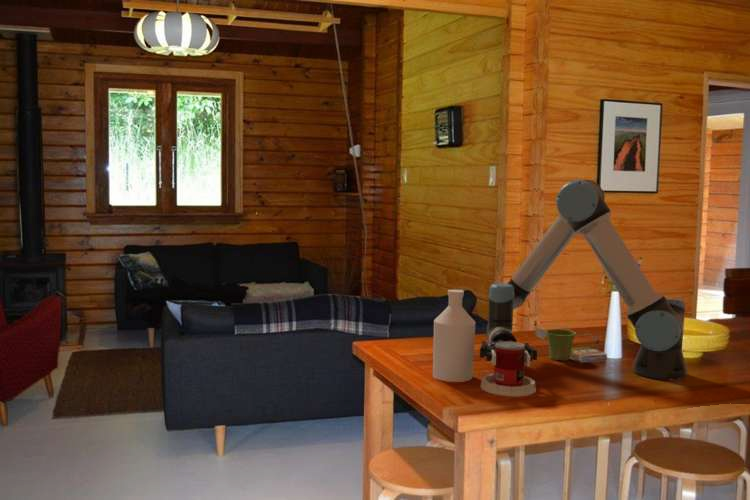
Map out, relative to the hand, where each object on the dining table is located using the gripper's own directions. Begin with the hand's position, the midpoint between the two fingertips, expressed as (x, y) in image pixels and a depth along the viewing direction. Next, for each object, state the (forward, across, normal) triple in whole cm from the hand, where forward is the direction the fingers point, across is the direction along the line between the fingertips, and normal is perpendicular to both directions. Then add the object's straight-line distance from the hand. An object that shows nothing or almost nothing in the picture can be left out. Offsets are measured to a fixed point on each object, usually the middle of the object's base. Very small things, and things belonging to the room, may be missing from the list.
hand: (511, 360), depth 207 cm
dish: (-5, 0, -9) cm, 10 cm away
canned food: (-5, 0, -8) cm, 9 cm away
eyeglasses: (-73, -28, -10) cm, 79 cm away
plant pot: (-42, -20, -9) cm, 47 cm away
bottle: (-15, +15, -9) cm, 23 cm away
